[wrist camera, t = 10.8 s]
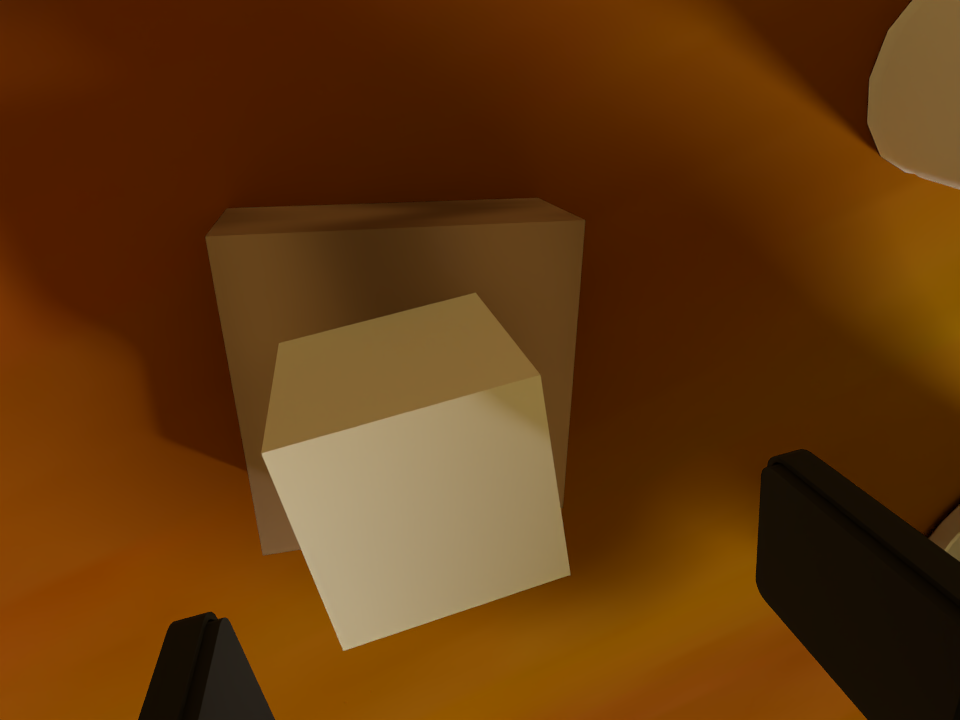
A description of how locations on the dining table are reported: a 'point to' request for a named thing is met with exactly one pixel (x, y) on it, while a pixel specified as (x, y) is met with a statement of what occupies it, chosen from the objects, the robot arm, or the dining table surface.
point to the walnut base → (390, 295)
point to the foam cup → (919, 92)
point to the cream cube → (414, 466)
